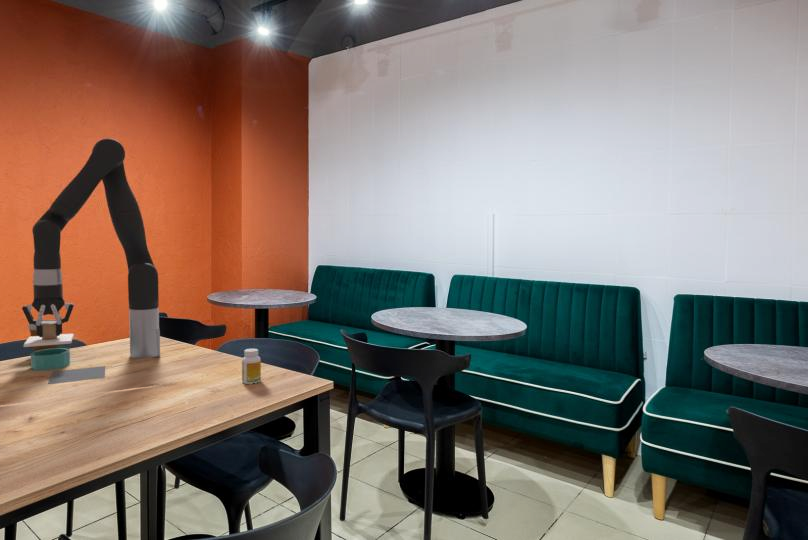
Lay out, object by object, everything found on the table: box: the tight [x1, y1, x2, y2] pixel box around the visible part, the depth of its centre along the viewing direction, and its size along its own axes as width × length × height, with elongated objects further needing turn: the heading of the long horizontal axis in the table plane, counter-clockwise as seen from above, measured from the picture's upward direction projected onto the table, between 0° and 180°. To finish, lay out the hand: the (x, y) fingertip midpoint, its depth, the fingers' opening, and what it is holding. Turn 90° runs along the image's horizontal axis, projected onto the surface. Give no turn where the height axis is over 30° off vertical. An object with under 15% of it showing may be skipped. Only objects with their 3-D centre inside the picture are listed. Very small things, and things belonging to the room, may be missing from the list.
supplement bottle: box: [241, 348, 262, 385], centre depth 148 cm, size 5×5×10 cm
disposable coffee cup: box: [27, 319, 59, 352], centre depth 173 cm, size 10×10×12 cm
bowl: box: [30, 347, 71, 371], centre depth 159 cm, size 10×10×5 cm
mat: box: [47, 365, 106, 385], centre depth 151 cm, size 14×14×1 cm
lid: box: [23, 322, 75, 348], centre depth 159 cm, size 12×12×6 cm
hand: (49, 335), depth 159 cm, fingers closed on lid, 4 cm apart
